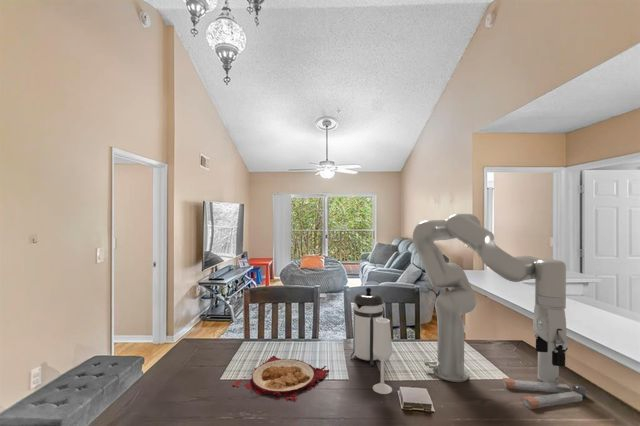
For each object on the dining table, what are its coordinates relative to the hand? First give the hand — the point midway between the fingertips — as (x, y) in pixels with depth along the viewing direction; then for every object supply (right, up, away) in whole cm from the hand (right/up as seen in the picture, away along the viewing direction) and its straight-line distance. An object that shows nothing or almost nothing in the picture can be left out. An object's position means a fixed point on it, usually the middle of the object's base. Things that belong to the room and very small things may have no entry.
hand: (549, 358), depth 98 cm
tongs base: (+9, -18, +15) cm, 25 cm away
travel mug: (+14, -18, +21) cm, 31 cm away
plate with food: (-83, -19, +22) cm, 88 cm away
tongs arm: (+7, -18, +8) cm, 21 cm away
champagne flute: (-47, -18, +16) cm, 53 cm away
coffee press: (-48, -18, +41) cm, 66 cm away
